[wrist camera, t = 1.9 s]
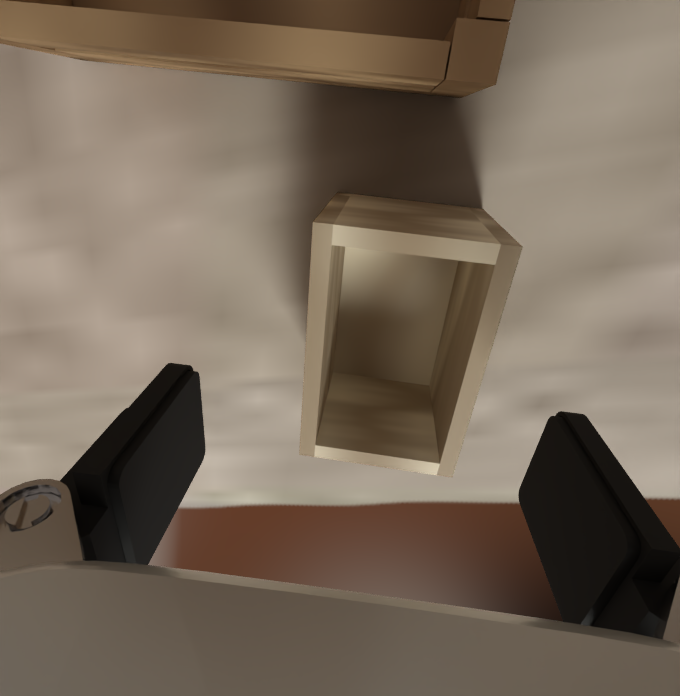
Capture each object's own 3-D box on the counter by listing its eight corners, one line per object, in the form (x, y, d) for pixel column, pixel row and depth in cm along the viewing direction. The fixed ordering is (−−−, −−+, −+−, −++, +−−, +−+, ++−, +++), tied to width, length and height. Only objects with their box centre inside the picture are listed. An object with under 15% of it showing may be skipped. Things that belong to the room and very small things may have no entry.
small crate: (482, 208, 17) (522, 246, 12) (437, 390, 21) (452, 477, 16) (337, 192, 17) (312, 221, 12) (322, 374, 22) (299, 454, 16)
